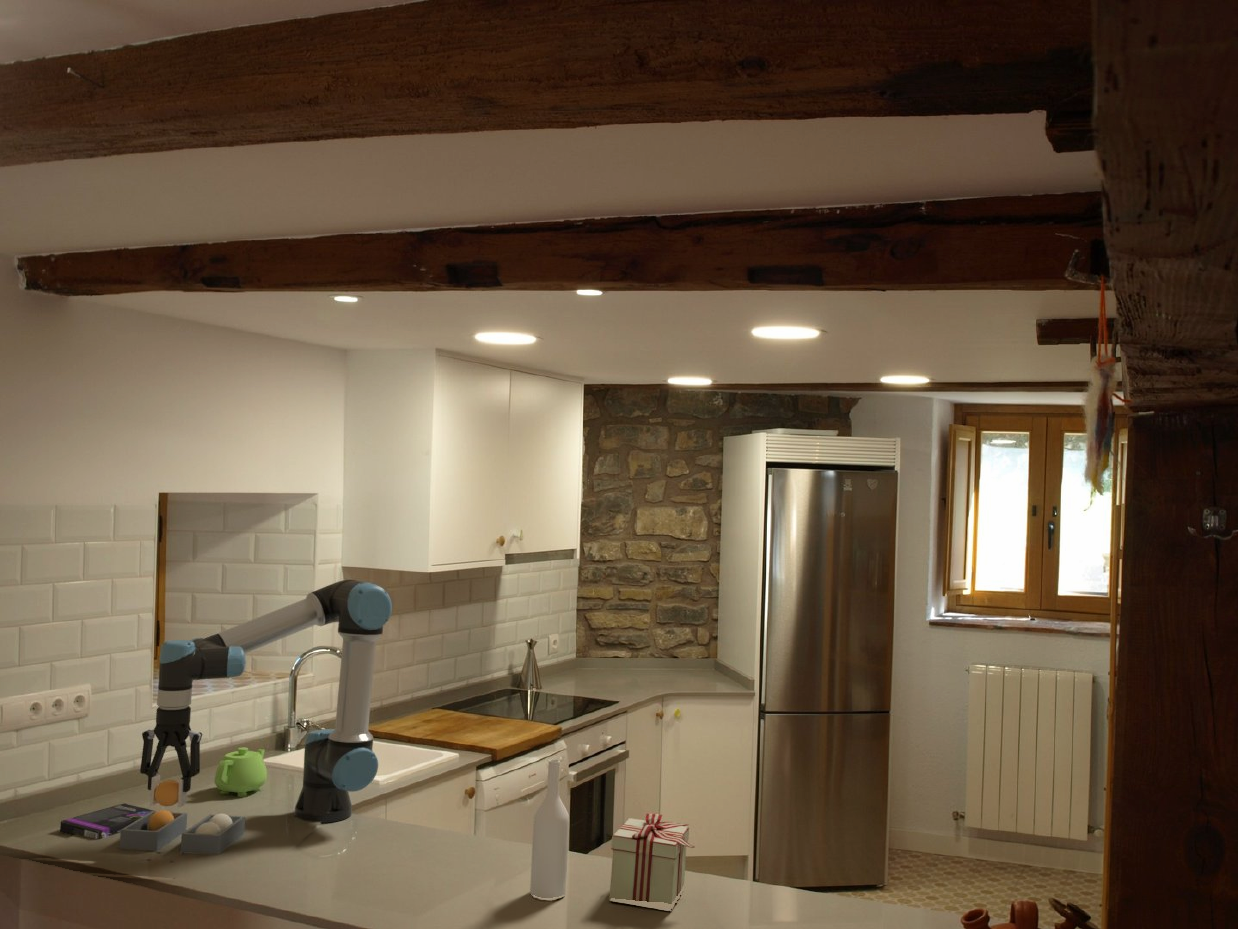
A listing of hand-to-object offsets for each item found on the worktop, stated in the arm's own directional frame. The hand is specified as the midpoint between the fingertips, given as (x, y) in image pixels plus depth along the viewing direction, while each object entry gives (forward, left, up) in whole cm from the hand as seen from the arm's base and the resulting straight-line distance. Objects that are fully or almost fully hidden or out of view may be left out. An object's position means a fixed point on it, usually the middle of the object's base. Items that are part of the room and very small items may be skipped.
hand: (168, 804), depth 247 cm
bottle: (-92, +7, -13) cm, 93 cm away
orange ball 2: (+8, -15, -12) cm, 21 cm away
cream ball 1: (-7, -8, -12) cm, 16 cm away
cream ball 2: (-7, -15, -12) cm, 20 cm away
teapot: (+5, -57, -13) cm, 59 cm away
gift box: (-116, +4, -13) cm, 117 cm away
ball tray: (+1, -8, -13) cm, 15 cm away
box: (+24, -20, -14) cm, 34 cm away
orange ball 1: (0, 0, 0) cm, 0 cm away
